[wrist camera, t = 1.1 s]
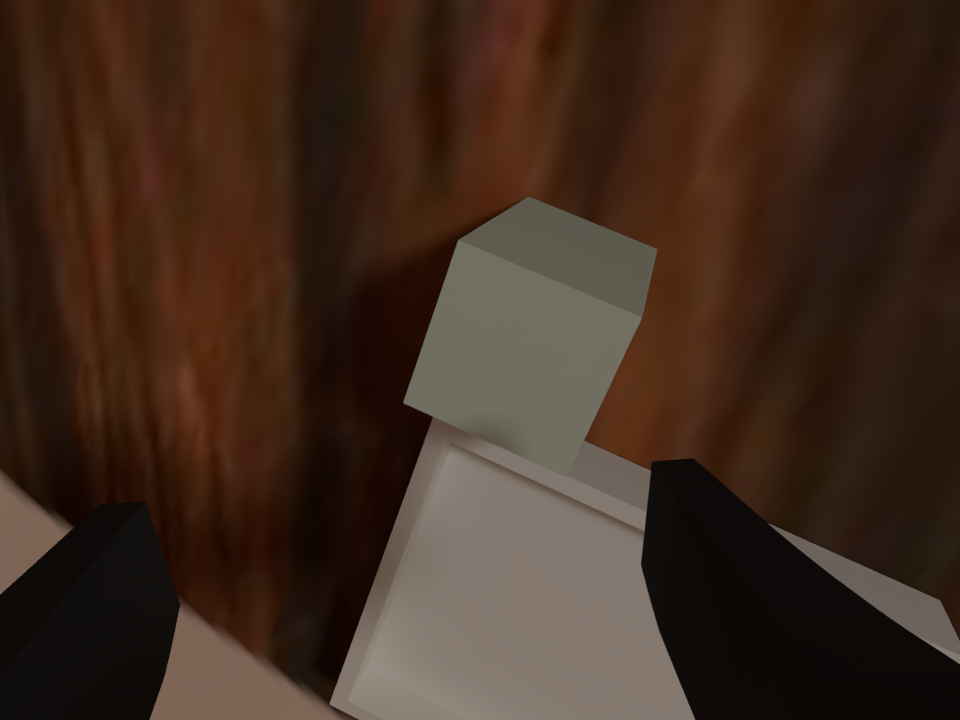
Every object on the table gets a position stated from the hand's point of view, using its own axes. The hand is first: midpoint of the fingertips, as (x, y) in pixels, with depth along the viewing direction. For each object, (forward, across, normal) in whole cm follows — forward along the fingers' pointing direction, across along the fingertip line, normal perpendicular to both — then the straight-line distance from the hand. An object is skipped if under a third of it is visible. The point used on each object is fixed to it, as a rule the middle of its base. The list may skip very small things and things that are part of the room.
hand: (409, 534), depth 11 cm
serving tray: (+9, -6, +14) cm, 17 cm away
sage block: (+12, -5, +2) cm, 13 cm away
